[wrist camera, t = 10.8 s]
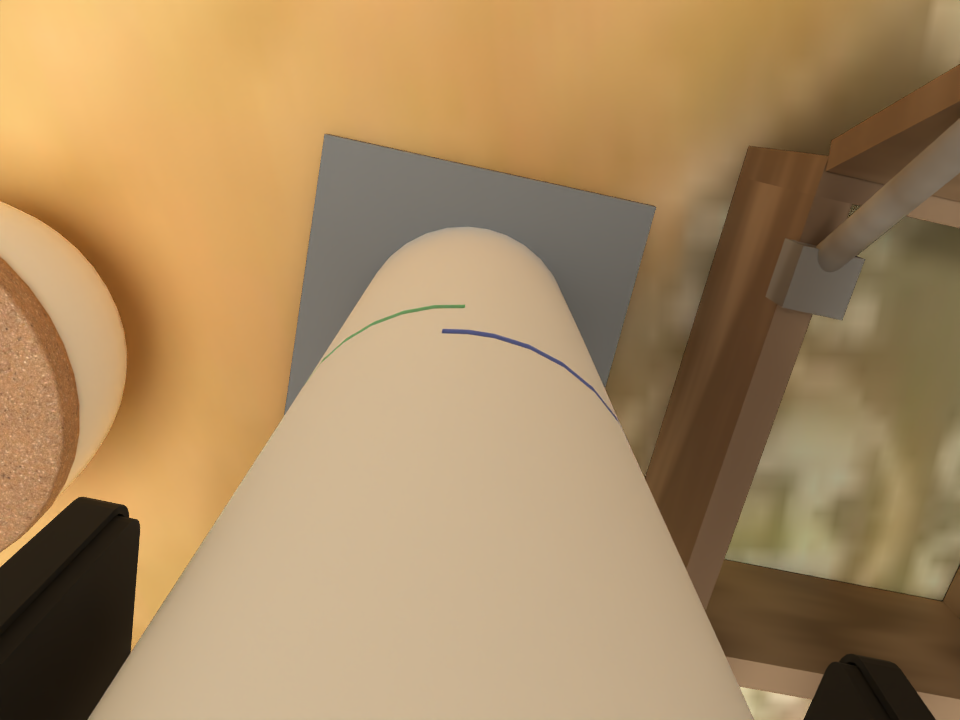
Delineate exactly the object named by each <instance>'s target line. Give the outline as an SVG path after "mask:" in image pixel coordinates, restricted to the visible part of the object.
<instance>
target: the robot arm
mask: <svg viewBox="0 0 960 720" xmlns="http://www.w3.org/2000/svg"><path fill="white" fill-rule="evenodd" d="M139 537H140V524H139V521H138V520H137V519H132V518H129V512H128V509H127V507H126V506H125V505H121V504H116V503H111V502H106V501H101V500H96V499H91V498H87V497H79V498H77V499H76V500H74V501H73V502H72V503H71V504H70V505H69V506H67V507H66V508H65V509H64V510H63V511H62V512H61V513H60V514H59V515H57V516H56V517H55V518H54V519H53V520H52V521H51V522H50V523H49V524H48V525H46V526H45V527H44V528H43V529H42V530H41V531H40V532H39V533H38V534H37V535H35V536H34V537H33V538H32V539H31V540H30V541H29V542H28V543H27V544H25V545H24V546H23V547H22V548H21V549H20V550H19V551H18V552H17V553H16V554H14V555H13V556H12V557H11V558H10V559H9V560H8V561H7V562H6V563H5V564H3V565H2V566H1V567H0V720H88V718H89V716H90V715H91V713H92V712H93V710H94V709H95V707H96V706H97V704H98V703H99V701H100V699H101V698H102V696H103V695H104V693H105V692H106V690H107V689H108V687H109V686H110V684H111V683H112V681H113V679H114V678H115V676H116V675H117V673H118V672H119V670H120V669H121V667H122V666H123V664H124V662H125V661H126V659H127V658H128V656H129V655H130V652H131V640H132V627H133V614H134V601H135V588H136V575H137V563H138V550H139ZM804 720H936V719H935V718H934V716H933V715H932V713H931V712H930V710H929V709H928V707H927V706H926V705H925V703H924V702H923V700H922V699H921V697H920V696H919V695H918V693H917V692H916V690H915V689H914V687H913V686H912V685H911V683H910V682H909V680H908V679H907V677H906V676H905V675H904V673H903V672H902V670H901V669H900V668H899V667H898V666H897V665H896V664H895V663H892V662H890V661H886V660H881V659H876V658H871V657H866V656H861V655H856V654H846V655H845V656H844V657H842V658H841V660H840V661H839V662H832V663H831V664H829V665H828V667H827V669H826V670H825V673H824V675H823V677H822V679H821V682H820V684H819V686H818V688H817V691H816V693H815V695H814V697H813V700H812V702H811V704H810V707H809V709H808V711H807V713H806V716H805V718H804Z"/></svg>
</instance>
